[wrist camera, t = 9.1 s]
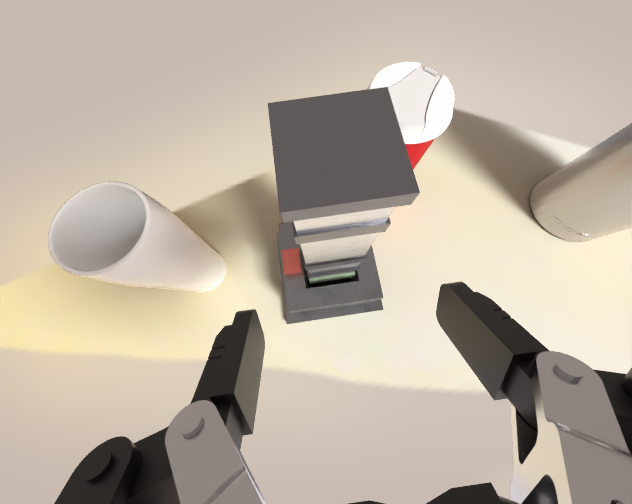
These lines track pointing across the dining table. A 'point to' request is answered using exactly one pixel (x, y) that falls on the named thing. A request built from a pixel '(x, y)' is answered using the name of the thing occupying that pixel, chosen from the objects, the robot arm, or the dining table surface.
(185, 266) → the drinking glass
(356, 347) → the dining table surface
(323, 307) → the sleeve
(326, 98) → the column
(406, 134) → the paper cup
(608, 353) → the dining table surface
